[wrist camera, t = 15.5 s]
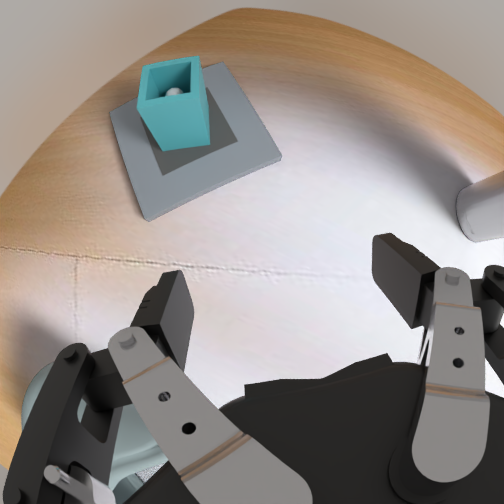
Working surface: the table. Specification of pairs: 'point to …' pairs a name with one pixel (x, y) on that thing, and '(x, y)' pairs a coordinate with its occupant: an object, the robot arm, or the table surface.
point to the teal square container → (175, 103)
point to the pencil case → (126, 448)
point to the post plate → (194, 148)
